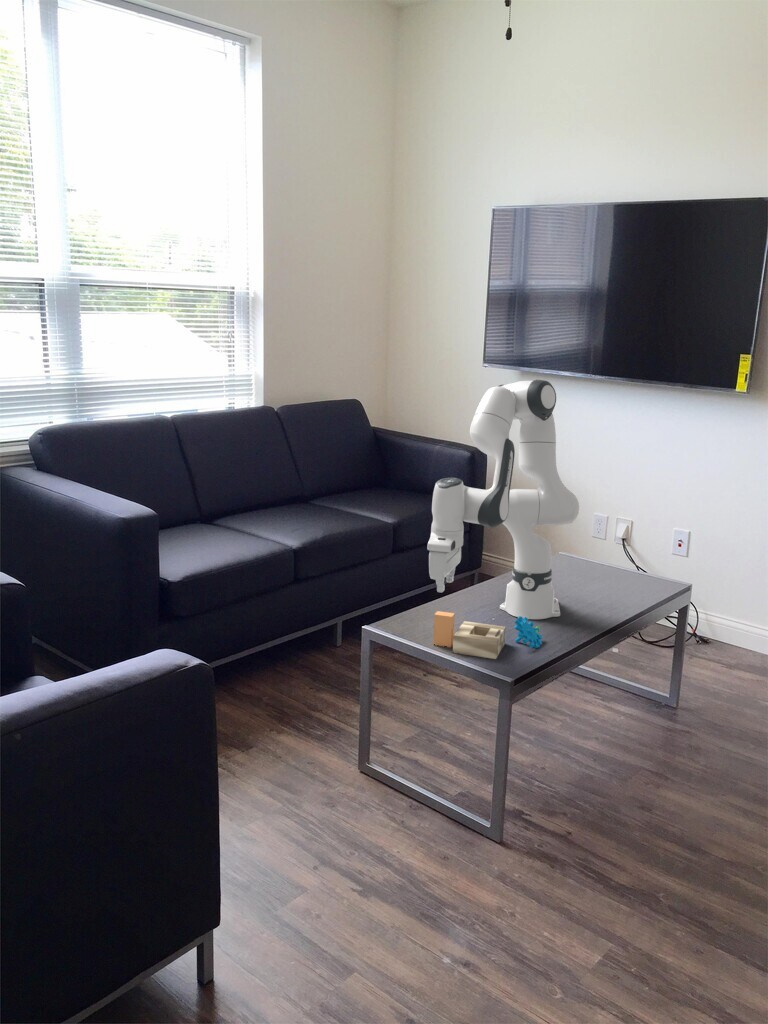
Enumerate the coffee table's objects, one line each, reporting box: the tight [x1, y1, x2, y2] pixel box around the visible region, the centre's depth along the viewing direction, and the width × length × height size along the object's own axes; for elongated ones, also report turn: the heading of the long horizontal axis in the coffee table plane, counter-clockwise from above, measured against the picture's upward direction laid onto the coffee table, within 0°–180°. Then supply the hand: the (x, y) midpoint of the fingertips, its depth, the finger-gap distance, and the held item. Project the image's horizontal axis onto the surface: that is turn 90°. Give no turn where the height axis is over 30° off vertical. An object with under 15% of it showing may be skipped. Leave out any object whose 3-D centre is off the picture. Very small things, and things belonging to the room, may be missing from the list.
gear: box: [514, 616, 543, 649], centre depth 244 cm, size 11×6×10 cm
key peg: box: [432, 610, 456, 648], centre depth 241 cm, size 3×5×9 cm, turn 71°
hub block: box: [452, 620, 507, 660], centre depth 239 cm, size 12×12×5 cm
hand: (445, 586), depth 238 cm, fingers open, 8 cm apart
